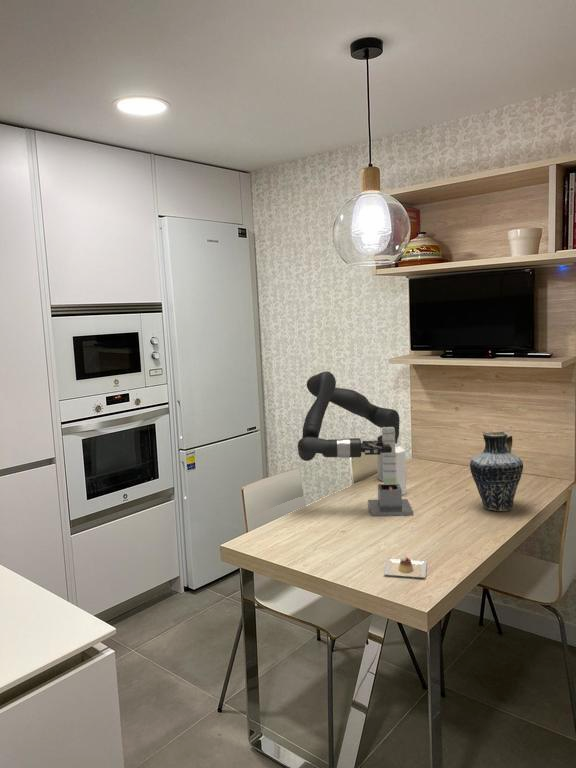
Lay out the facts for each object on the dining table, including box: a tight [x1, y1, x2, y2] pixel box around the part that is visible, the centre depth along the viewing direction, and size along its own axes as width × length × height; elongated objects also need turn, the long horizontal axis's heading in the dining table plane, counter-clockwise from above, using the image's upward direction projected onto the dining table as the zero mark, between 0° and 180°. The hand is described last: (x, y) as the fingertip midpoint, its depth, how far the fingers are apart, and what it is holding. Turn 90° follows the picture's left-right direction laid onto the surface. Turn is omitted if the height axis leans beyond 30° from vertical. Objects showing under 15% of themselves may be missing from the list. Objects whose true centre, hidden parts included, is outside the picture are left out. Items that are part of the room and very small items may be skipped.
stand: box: [367, 483, 414, 517], centre depth 241 cm, size 16×16×10 cm
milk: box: [395, 442, 407, 496], centre depth 260 cm, size 6×6×22 cm
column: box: [381, 427, 396, 485], centre depth 239 cm, size 5×5×22 cm
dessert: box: [383, 555, 428, 579], centre depth 185 cm, size 12×12×5 cm
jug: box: [469, 430, 524, 512], centre depth 237 cm, size 21×19×30 cm
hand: (390, 447), depth 239 cm, fingers open, 8 cm apart
